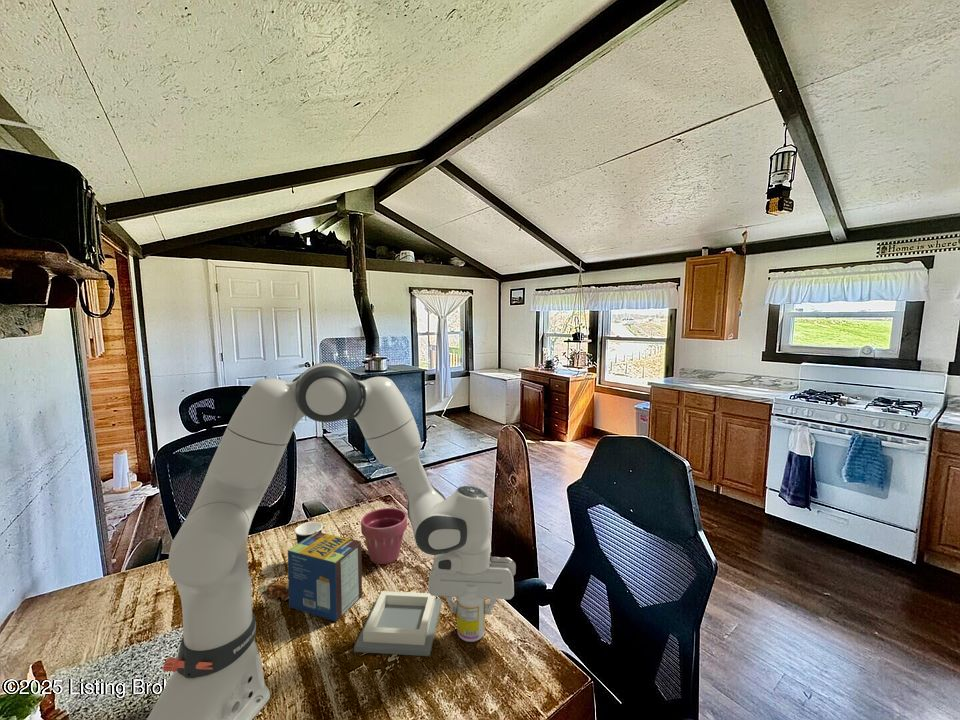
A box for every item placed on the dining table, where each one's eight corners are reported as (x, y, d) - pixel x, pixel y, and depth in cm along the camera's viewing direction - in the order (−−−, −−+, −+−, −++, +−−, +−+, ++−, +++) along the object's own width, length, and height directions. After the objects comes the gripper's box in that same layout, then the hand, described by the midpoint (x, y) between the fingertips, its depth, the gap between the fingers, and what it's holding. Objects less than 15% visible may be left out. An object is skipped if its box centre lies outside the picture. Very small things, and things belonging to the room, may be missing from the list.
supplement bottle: (471, 618, 99) (472, 569, 98) (490, 632, 94) (491, 581, 93) (451, 632, 94) (451, 580, 93) (470, 648, 90) (470, 594, 89)
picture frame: (429, 656, 87) (429, 640, 87) (354, 651, 88) (354, 636, 88) (441, 603, 104) (441, 590, 104) (378, 600, 105) (378, 587, 105)
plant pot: (358, 549, 129) (357, 511, 128) (401, 540, 135) (400, 504, 134) (365, 574, 116) (364, 532, 115) (412, 562, 122) (412, 522, 121)
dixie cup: (295, 572, 117) (294, 536, 116) (295, 558, 124) (294, 524, 123) (324, 566, 120) (323, 531, 119) (322, 552, 127) (321, 519, 127)
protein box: (317, 583, 112) (315, 530, 111) (362, 596, 107) (362, 540, 106) (287, 607, 102) (286, 549, 101) (336, 623, 97) (335, 562, 96)
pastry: (269, 581, 113) (269, 569, 113) (306, 587, 111) (305, 575, 110) (250, 597, 106) (250, 584, 106) (289, 604, 104) (288, 591, 104)
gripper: (515, 550, 95) (514, 605, 96) (431, 547, 97) (431, 601, 98) (516, 566, 89) (515, 624, 90) (426, 561, 90) (426, 619, 91)
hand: (471, 612), depth 94 cm, fingers closed on supplement bottle, 7 cm apart
